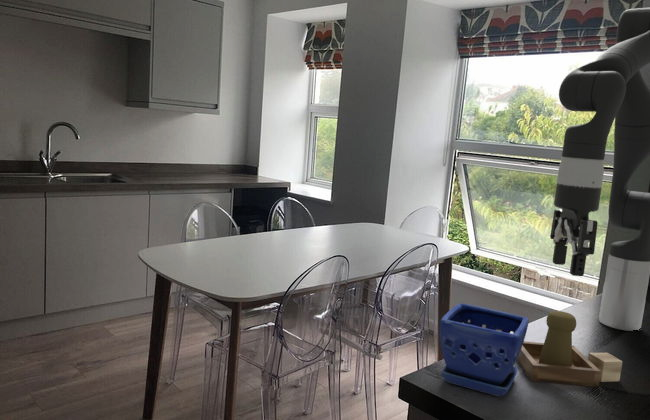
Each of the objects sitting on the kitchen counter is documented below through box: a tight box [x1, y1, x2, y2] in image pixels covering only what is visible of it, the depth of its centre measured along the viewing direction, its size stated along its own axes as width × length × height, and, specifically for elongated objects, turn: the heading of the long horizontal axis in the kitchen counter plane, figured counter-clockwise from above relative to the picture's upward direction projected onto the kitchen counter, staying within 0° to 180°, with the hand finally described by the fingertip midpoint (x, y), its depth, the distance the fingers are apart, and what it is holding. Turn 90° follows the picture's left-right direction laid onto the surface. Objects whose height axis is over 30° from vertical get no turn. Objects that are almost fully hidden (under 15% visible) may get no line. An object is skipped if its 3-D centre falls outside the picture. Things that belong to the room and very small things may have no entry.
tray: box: [516, 340, 601, 388], centre depth 104 cm, size 12×12×3 cm
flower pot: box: [439, 303, 530, 397], centre depth 96 cm, size 13×13×12 cm
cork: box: [538, 310, 577, 367], centre depth 103 cm, size 6×6×11 cm
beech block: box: [587, 352, 624, 383], centre depth 103 cm, size 4×4×4 cm
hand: (567, 269), depth 101 cm, fingers open, 8 cm apart
